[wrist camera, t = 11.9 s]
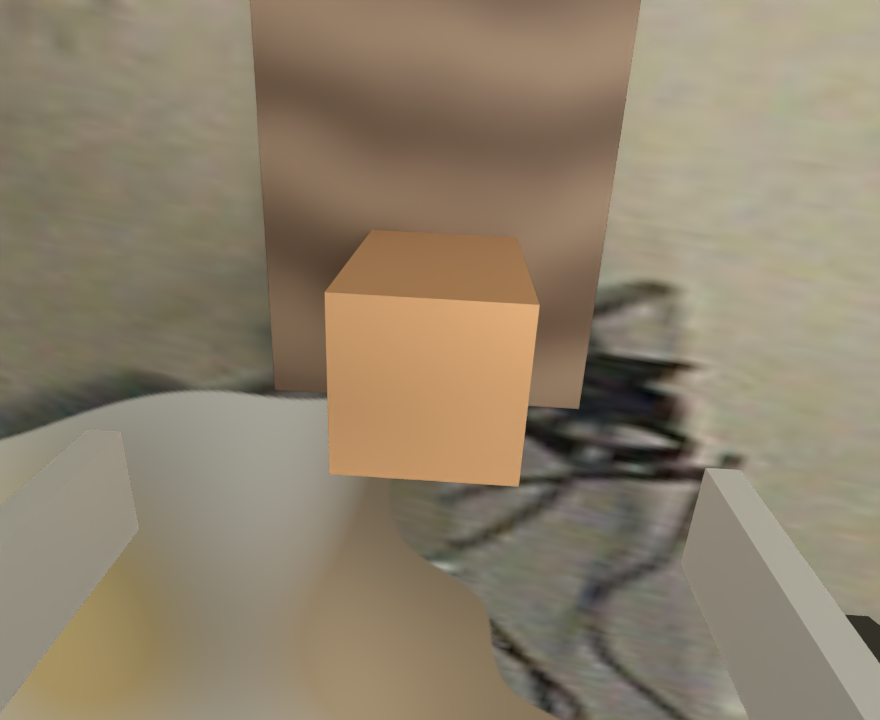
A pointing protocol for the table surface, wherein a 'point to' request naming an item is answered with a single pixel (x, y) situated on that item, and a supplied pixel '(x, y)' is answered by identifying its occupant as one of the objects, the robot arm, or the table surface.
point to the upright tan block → (430, 358)
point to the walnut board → (439, 151)
